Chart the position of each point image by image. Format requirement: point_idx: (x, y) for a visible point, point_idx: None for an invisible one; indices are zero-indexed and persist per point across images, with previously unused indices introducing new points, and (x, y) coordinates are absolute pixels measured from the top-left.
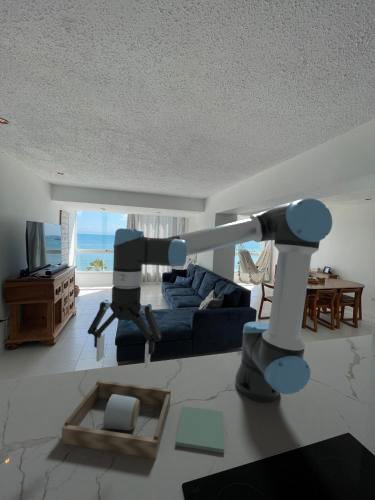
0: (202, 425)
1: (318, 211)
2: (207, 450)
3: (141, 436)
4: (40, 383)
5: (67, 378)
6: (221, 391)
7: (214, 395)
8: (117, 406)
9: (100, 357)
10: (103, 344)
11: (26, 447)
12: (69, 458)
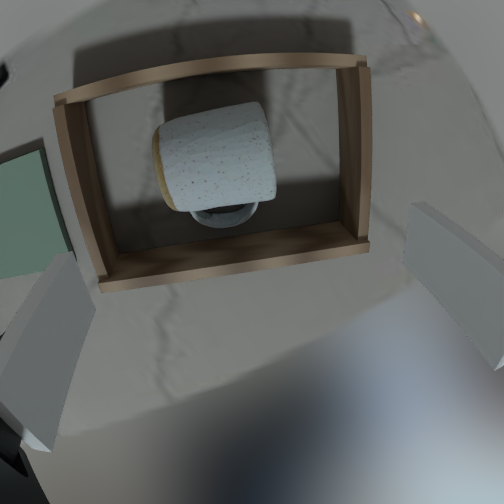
0: (7, 223)
1: None
2: None
3: (101, 92)
4: (482, 222)
5: None
6: None
7: None
8: (222, 135)
9: (417, 230)
10: (453, 306)
11: (409, 44)
12: (296, 25)
